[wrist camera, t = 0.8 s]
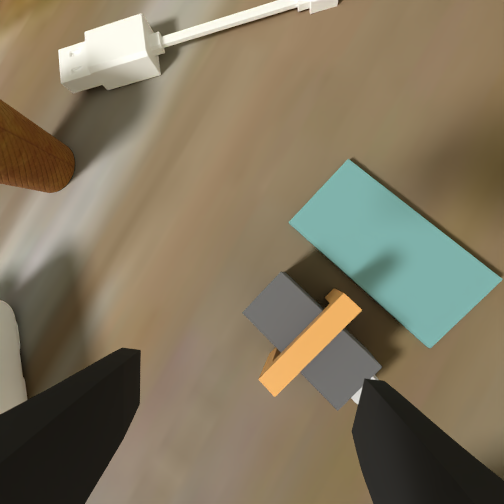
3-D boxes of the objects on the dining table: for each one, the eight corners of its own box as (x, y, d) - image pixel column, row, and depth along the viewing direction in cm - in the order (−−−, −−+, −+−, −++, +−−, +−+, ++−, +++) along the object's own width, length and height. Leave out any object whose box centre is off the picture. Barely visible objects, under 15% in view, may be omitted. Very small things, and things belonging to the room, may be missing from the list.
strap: (347, 300, 23) (362, 309, 17) (281, 366, 24) (274, 397, 18) (333, 288, 24) (343, 293, 18) (269, 353, 24) (258, 379, 18)
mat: (497, 279, 21) (502, 279, 21) (426, 346, 22) (430, 348, 21) (347, 161, 25) (348, 158, 24) (289, 223, 25) (288, 222, 25)
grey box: (381, 362, 23) (400, 384, 18) (344, 398, 23) (354, 428, 19) (285, 271, 25) (280, 271, 21) (253, 305, 25) (242, 312, 21)
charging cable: (352, 22, 27) (361, -13, 23) (79, 101, 31) (54, 80, 28) (343, -19, 27) (350, -60, 24) (76, 64, 32) (51, 39, 29)
